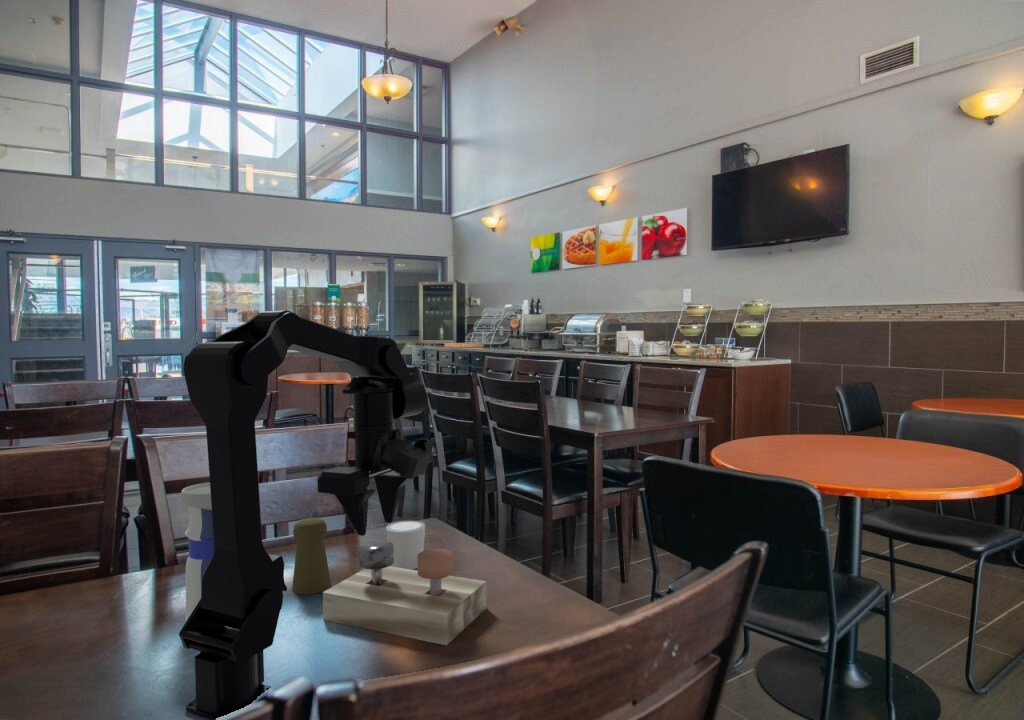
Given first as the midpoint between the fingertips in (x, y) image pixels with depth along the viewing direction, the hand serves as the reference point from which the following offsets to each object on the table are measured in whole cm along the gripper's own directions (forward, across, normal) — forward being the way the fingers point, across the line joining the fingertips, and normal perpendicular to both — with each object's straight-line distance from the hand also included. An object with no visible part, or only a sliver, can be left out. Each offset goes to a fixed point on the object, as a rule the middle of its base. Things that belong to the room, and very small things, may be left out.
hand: (375, 528), depth 92 cm
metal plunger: (+9, 0, 0) cm, 9 cm away
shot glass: (+12, +17, +6) cm, 22 cm away
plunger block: (+12, 0, -5) cm, 13 cm away
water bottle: (+12, -12, +19) cm, 26 cm away
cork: (+12, +3, +15) cm, 20 cm away
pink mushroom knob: (+9, 0, -10) cm, 13 cm away
